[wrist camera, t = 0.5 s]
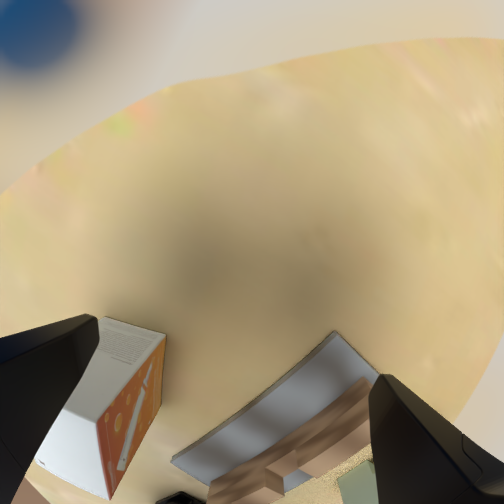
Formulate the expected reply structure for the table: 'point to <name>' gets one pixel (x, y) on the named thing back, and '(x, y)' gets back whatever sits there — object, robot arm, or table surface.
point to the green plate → (359, 485)
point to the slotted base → (288, 430)
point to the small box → (107, 410)
